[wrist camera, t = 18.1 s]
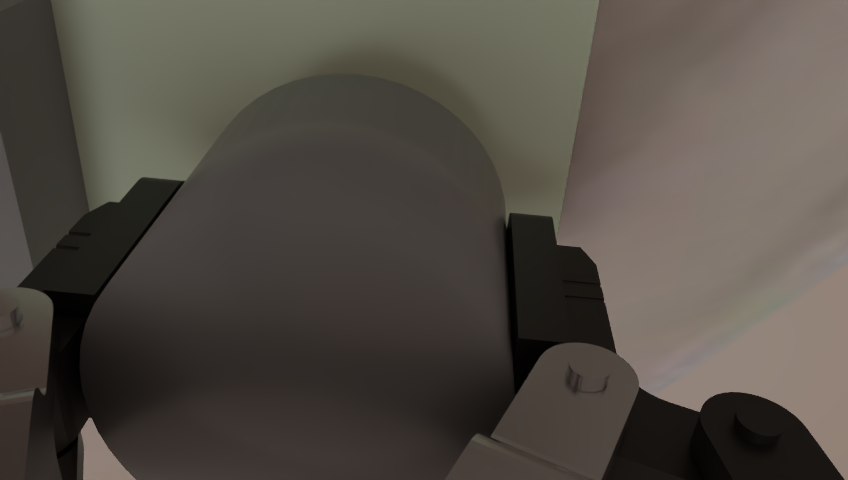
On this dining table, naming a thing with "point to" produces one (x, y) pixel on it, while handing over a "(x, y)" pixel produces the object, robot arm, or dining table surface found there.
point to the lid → (262, 90)
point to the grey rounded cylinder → (312, 298)
